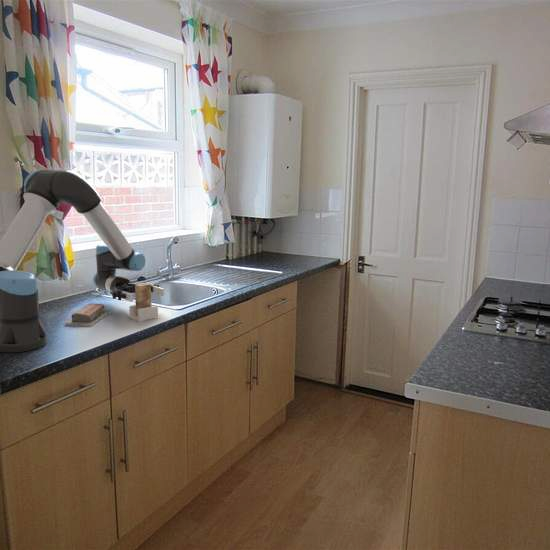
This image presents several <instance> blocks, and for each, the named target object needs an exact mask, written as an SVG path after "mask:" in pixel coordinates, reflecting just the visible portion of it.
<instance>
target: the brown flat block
mask: <svg viewBox="0 0 550 550" xmlns="http://www.w3.org/2000/svg"><path fill="white" fill-rule="evenodd" d="M109 314H110V311H105V304H103V303H87V304H86V305H84V306H83V307H81V308H79V309H78V310H77V311H75V312H73V313H71V318H70V319H68V320H67V321H65V322H64V325H65V326H66V327H67V326H69V327H87V326H88V328H89V327H93V326H95V325H96V324H97V323H98V322H100V321H102V319H104V318H105V317H106V316H108V315H109Z"/></svg>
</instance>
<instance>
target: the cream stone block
mask: <svg viewBox="0 0 550 550" xmlns="http://www.w3.org/2000/svg"><path fill="white" fill-rule="evenodd" d="M137 311H138V316H136V304H134V305H130V306H129V318H130V319H133V320H135V321H137V322H144V321H148V319H149V320H152V318H154V319H157V318H156V317H158V318H159V306H158V305H151V307H146V308H141V309H137Z"/></svg>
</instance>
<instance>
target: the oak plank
mask: <svg viewBox="0 0 550 550" xmlns="http://www.w3.org/2000/svg"><path fill="white" fill-rule="evenodd" d="M143 283H144V282H143ZM136 284H137V285H135V293H134V294H135V305H136V316H138V311H137V309H141V308H146V307H151V306H152V292H151V283H147V282H145V283H144V284H138V283H136Z"/></svg>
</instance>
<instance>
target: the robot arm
mask: <svg viewBox="0 0 550 550" xmlns="http://www.w3.org/2000/svg"><path fill="white" fill-rule="evenodd" d="M23 187H24V188H23V192H24V194H23V195H22V196H23V199H24V203H23V204H22V206H21V208H20V209H19V211H18V213H17V214H16V216H15V217H14V219H13V220H12V222H11V224H10V226H9V227H8V229H7V231H5V233H4V234H3V237H2V238H1V240H0V352H1V353H23V352H29V351H33V350H36V349H37V350H38V349H39V348H42V347H44V346H46V344H47V343H48V340H47V339H48V336H47V334H46V331H45V329H44V326H43V324H42V322H41V320H40V308H39V290H38V289H39V286H38V282H37V277H36V276H35V275H34V274H33V273H32V272H29V271H26V270H18V268H19V266H20V264H21V262H22V261H23V259H24V257H25V255H26V254H27V252H28V250H29V249H30V248H31V245H32V244H33V242H34V240H35V238H36V237H37V235H38V234H39V231H41V228H42V226H43V225H44V223H45V221H46V220H47V218H48V216H49V215H51V214H55V213H56V212H57V210H58V209H59V207H60V205H61V204H62V205H69V206H71V207H72V208H74V210H75V211H76V212H77V213H78V214H81V215H83V216H84V218H85V219H86V220H87V221H88V223H89V224H90V226H91V228H92V229H93V230H94V231H95V233H96V234H97V235H98V237H99V238H100V239H101V240H102V242H103V243H101V244H98V245H96V246H95V247H96V248H95V258H96V259H95V260H96V261H95V262H96V273H95V274H94V276H93V279H92V283H93V285H94V287H95V288H97V289H99V290H100V291H104V292H108V293H109V294H111V297H112V299H113V300H116V299H117V300H118V301H122V299H123V300H124V301H129V302H134V296H133V295H134V294H135V285H137V284H144V282H138V283H133V282H131V280H130V279H129V278H127V277H123V276H120V275H117V272H116V271H117V270H122V271H123V270H124V271H129V272H141V271H142V270H143V269H144V267H145V266H146V257H145V255H144V254H143V253H141V252H138V251H135V249H133V247H132V246H131V244H130V242H129V241H128V239H126V237H125V235H124V234H123V233H122V231H121V229H120V228H119V227H118V226H117V224H116V223H115V221H114V220H113V218H112V217H111V216H110V214H109V212H108V211H107V209H106V208H105V206H104V205H103V203H102V198H101V196H100V195H99V193H98V192H97V190H96V189H95V187H93V185H91V183H89V181H88V180H87V179H86V178H84V177H83V176H81V175H80V174H79V173H77V172H75V171H72V170H64V169H63V170H58V169H57V170H55V169H53V170H51V169H38V170H34V171H32V172H31V173H29V174H28V175H27V176H26V178H25V179H24V182H23ZM150 284H151V283H150ZM133 293H134V294H133ZM151 293H153V294H155V295H158V296H161V297H163V296H165V289H164V288H163V287H160V284H157V283H152V284H151Z"/></svg>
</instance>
